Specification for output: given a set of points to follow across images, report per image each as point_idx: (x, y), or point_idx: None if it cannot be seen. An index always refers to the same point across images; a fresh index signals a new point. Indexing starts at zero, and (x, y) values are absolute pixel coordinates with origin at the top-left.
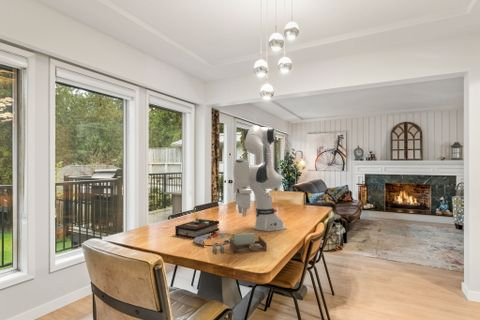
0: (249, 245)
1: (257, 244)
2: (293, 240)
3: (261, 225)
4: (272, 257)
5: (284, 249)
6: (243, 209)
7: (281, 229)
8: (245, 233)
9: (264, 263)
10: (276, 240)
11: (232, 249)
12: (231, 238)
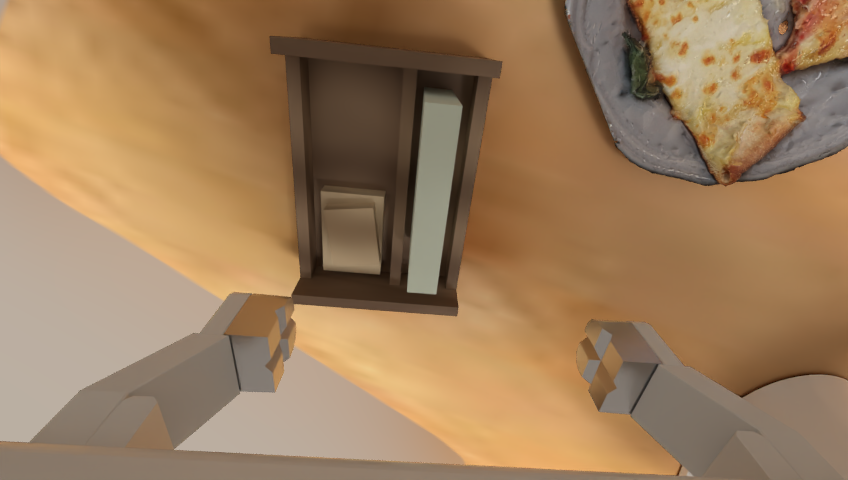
0: (395, 204)
1: (358, 253)
2: (473, 442)
3: (783, 420)
4: (230, 266)
5: (348, 362)
6: (66, 422)
7: (681, 469)
8: (445, 225)
9: (129, 190)
10: (514, 385)
11: (367, 45)
12: (696, 143)
